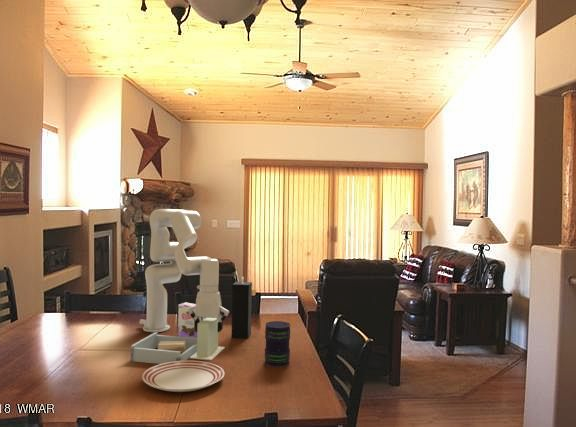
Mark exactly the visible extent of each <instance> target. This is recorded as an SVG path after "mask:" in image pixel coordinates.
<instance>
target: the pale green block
mask: <svg viewBox="0 0 576 427" xmlns="http://www.w3.org/2000/svg"><path fill="white" fill-rule="evenodd" d="M218 322H219V321H218V320H217V318H206V319H204V320H203V321H201V322H199V323H198V327H197V356H200V357H208V356H210V355H211V354H212V353H213V352H214V351H215V350H216V349H217V348H218V346H219V332H217V329H218Z"/></svg>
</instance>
